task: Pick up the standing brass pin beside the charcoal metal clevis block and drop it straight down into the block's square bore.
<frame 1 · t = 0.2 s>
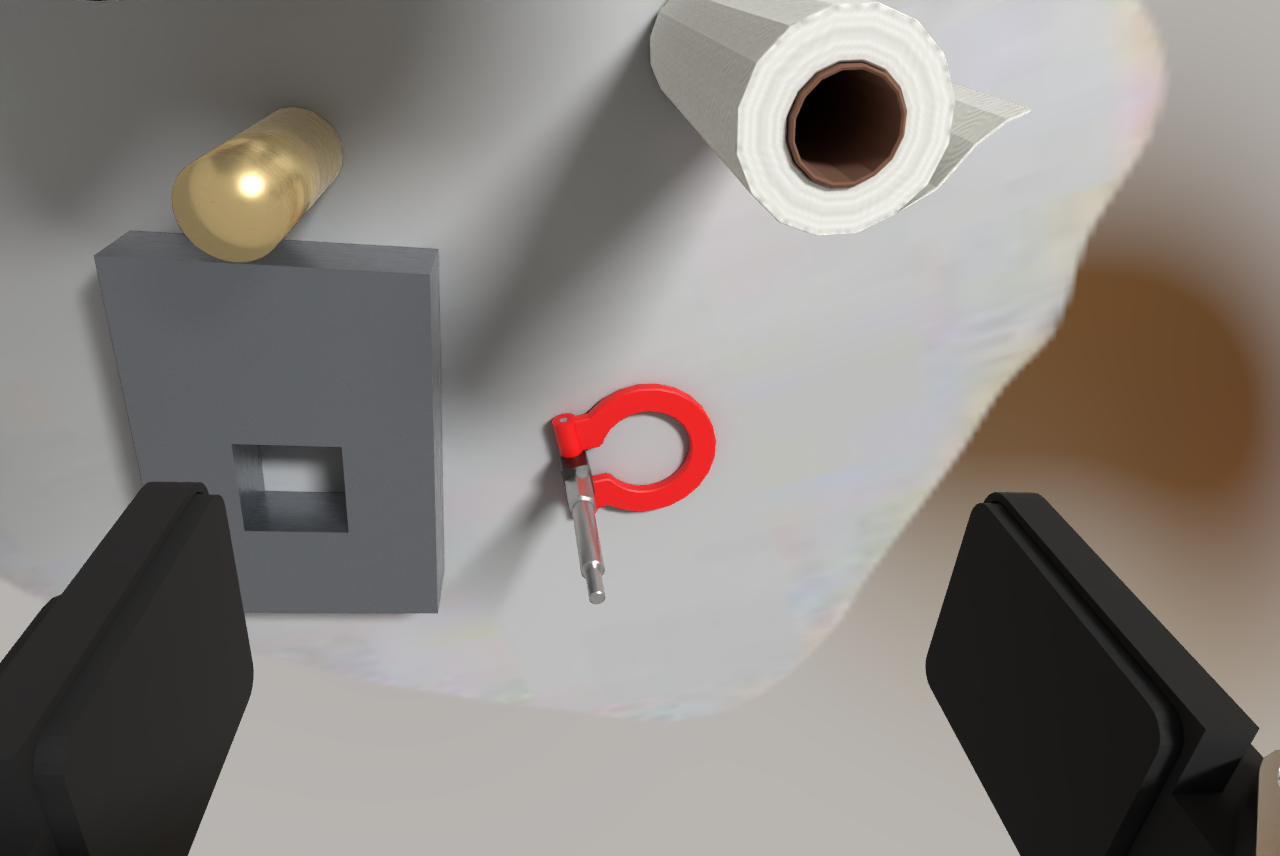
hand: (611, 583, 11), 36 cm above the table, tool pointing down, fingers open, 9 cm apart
brass pin: (300, 150, 42), on the table
paper towel roll: (719, 53, 42), on the table
clevis block: (306, 421, 49), on the table
tow hook: (636, 444, 52), on the table
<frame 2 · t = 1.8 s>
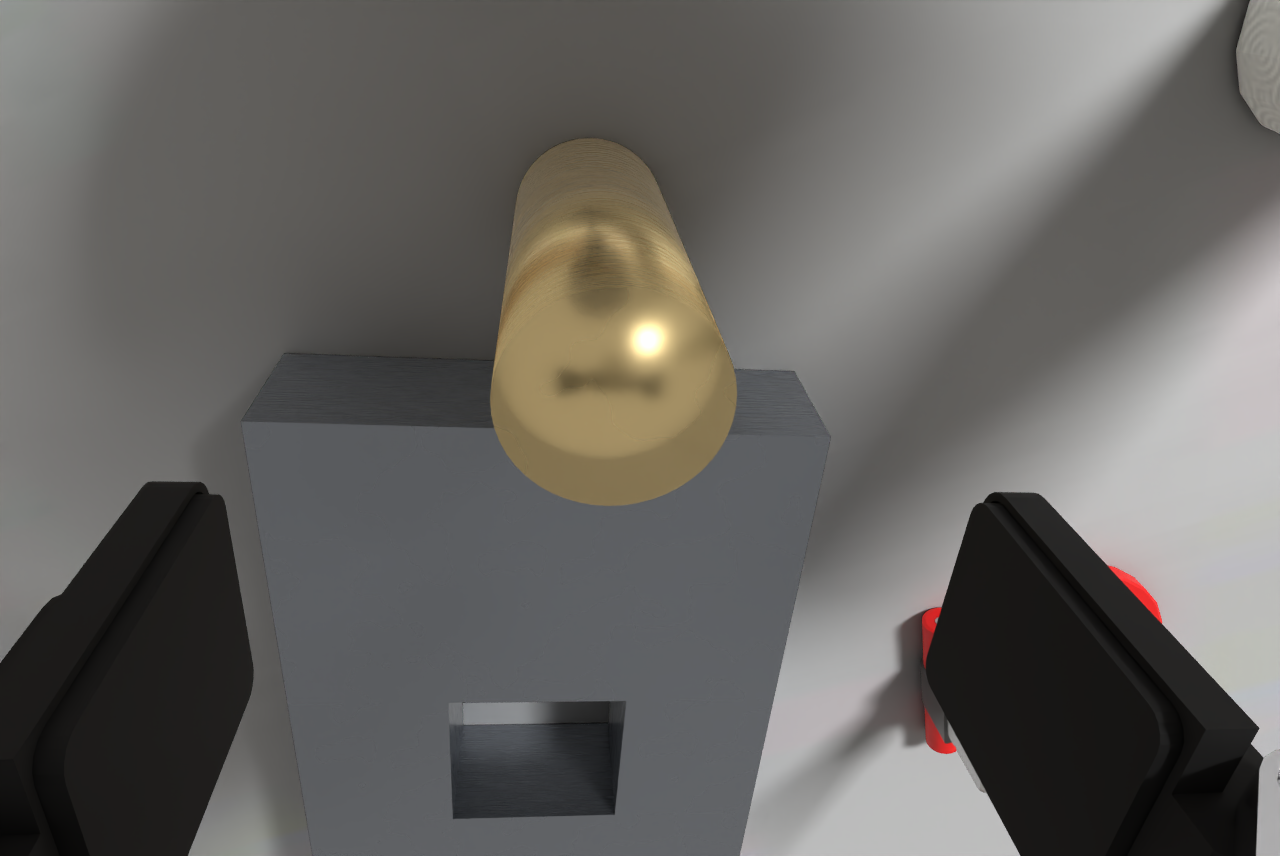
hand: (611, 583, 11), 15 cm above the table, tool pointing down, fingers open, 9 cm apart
brass pin: (589, 213, 24), on the table
clevis block: (539, 630, 31), on the table
tow hook: (1029, 643, 34), on the table
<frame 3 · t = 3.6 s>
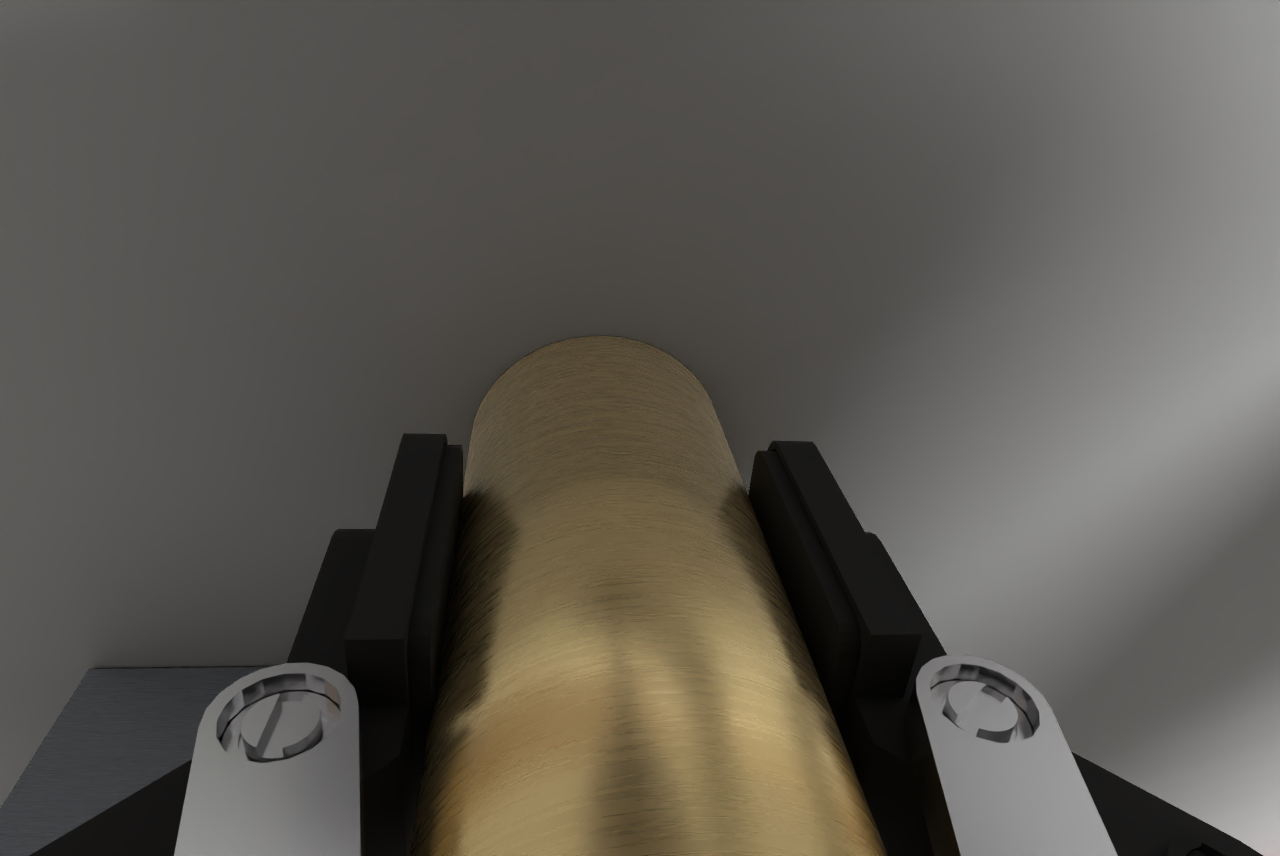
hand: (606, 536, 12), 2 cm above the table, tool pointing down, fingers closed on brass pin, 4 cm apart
brass pin: (596, 451, 14), on the table, touching gripper
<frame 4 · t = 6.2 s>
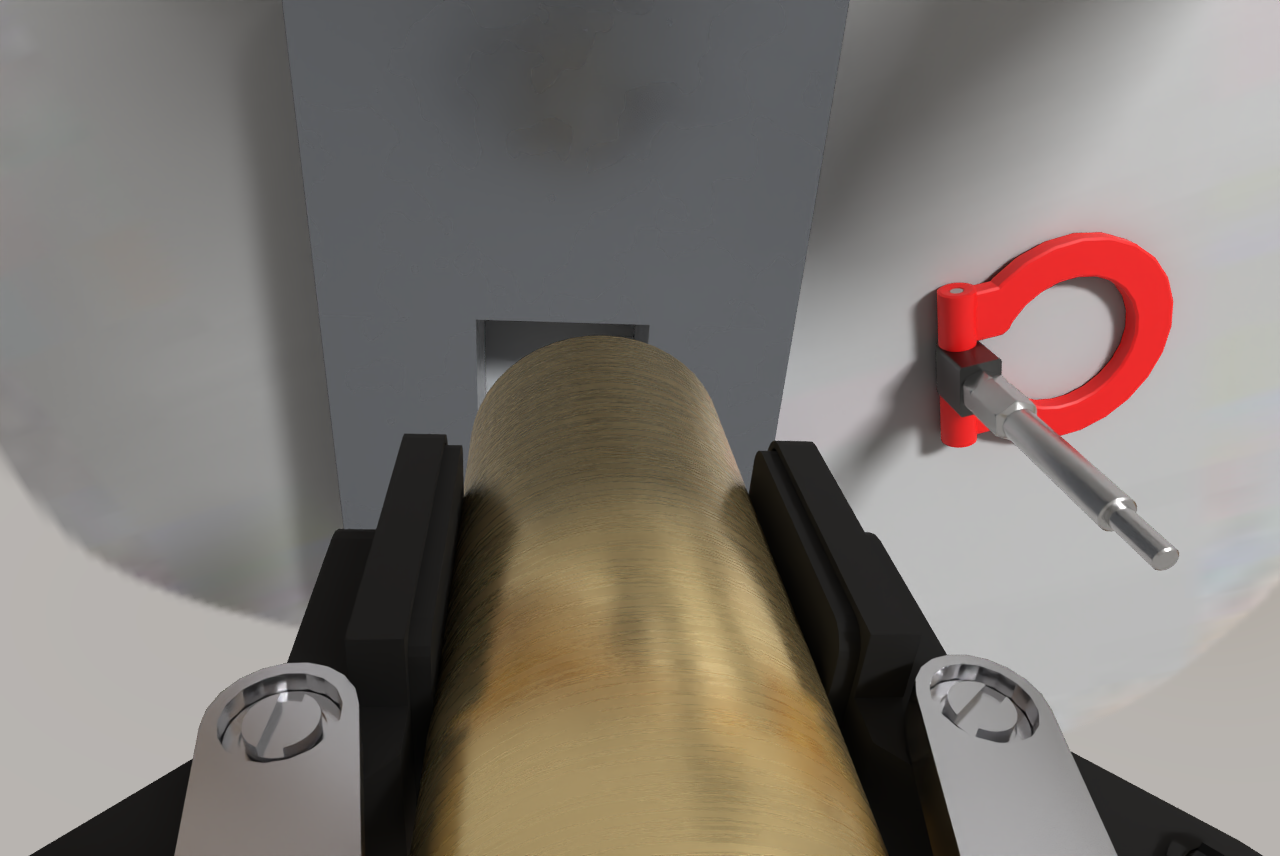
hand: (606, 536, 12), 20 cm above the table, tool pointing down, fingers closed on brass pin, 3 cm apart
brass pin: (597, 451, 14), point 18 cm above the table, touching gripper
clevis block: (561, 299, 31), on the table
tow hook: (1042, 334, 34), on the table
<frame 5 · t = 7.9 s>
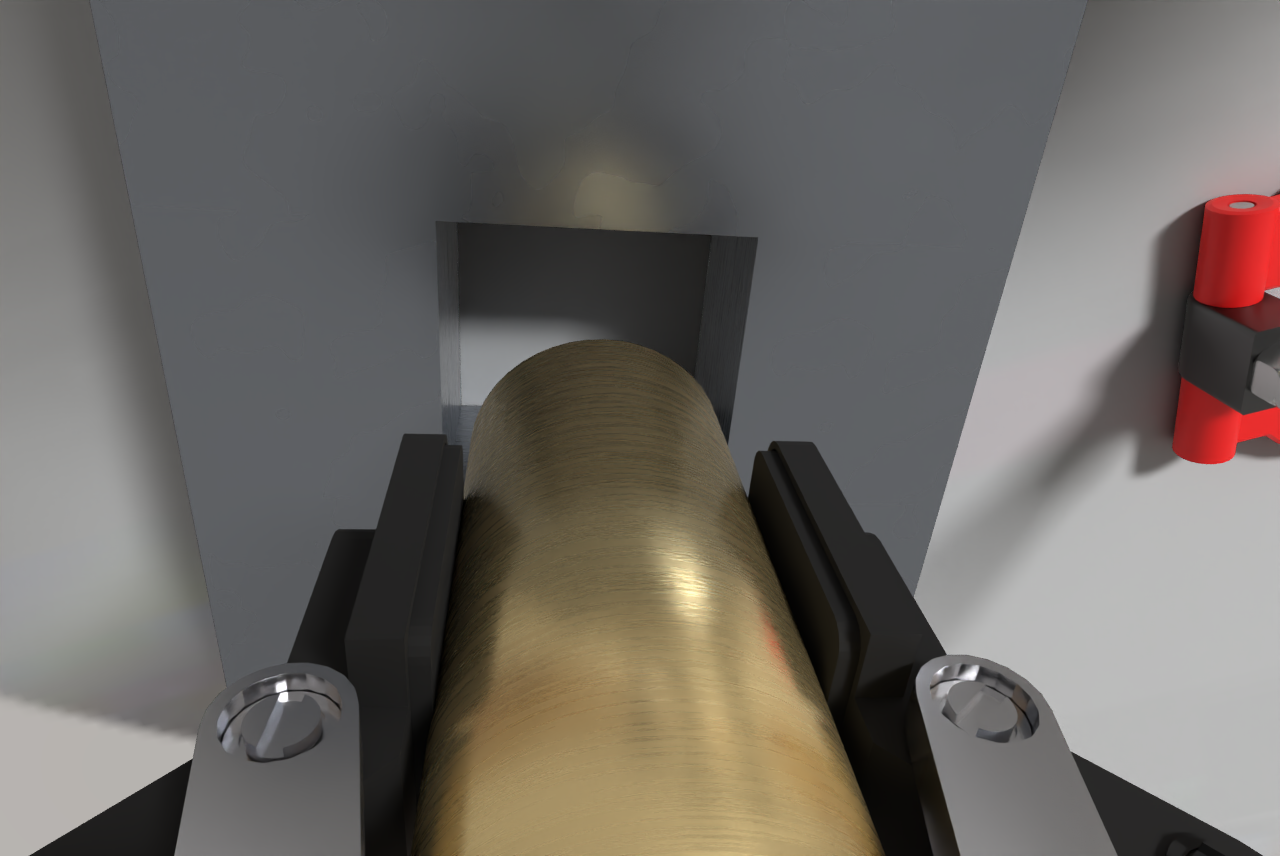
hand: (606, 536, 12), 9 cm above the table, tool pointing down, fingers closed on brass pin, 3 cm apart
brass pin: (597, 455, 14), point 7 cm above the table, touching gripper
clevis block: (587, 211, 19), on the table
when the fingers open (5 cm above the table, at t = 9.0 s): brass pin drops 3 cm, resting in clevis block.
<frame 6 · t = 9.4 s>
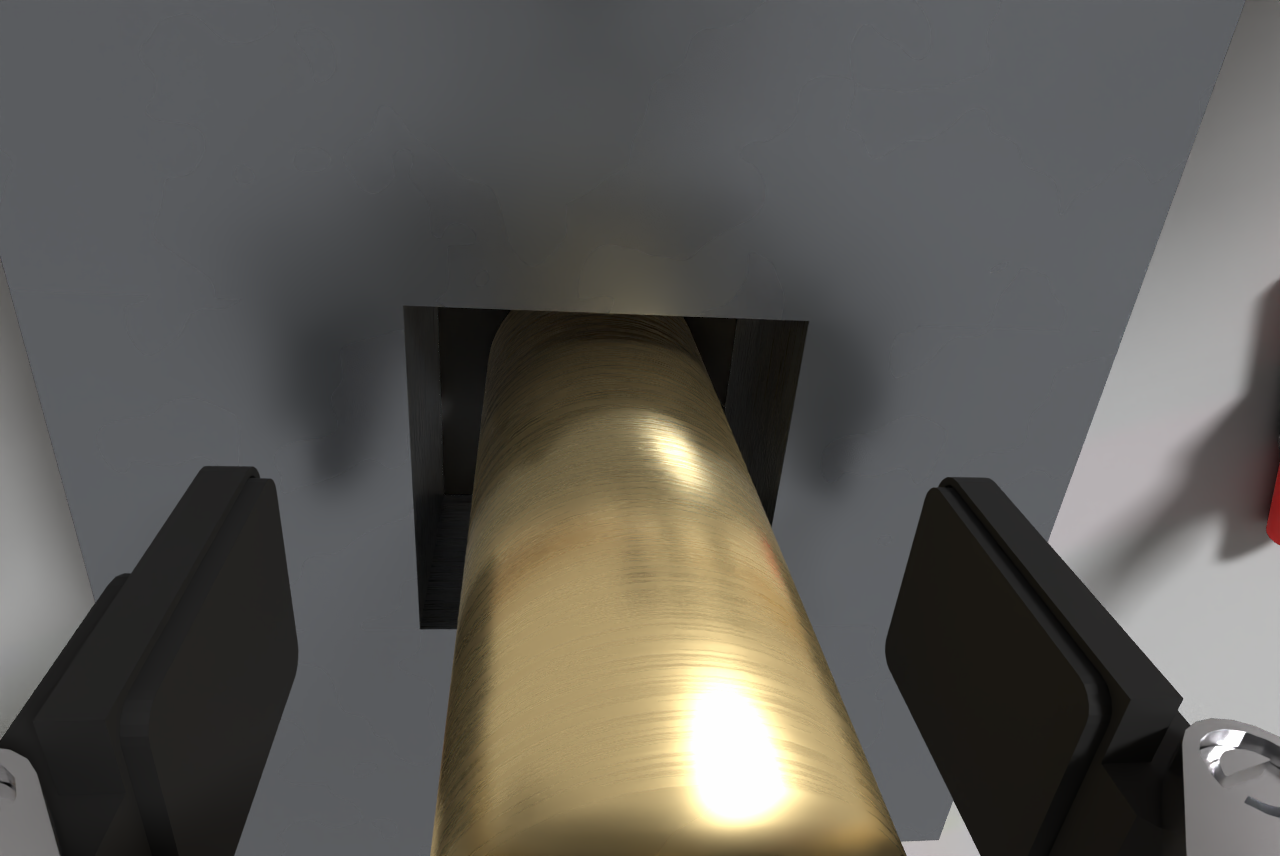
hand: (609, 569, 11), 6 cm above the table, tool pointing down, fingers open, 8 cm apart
brass pin: (594, 373, 16), resting in clevis block
clevis block: (593, 273, 16), on the table
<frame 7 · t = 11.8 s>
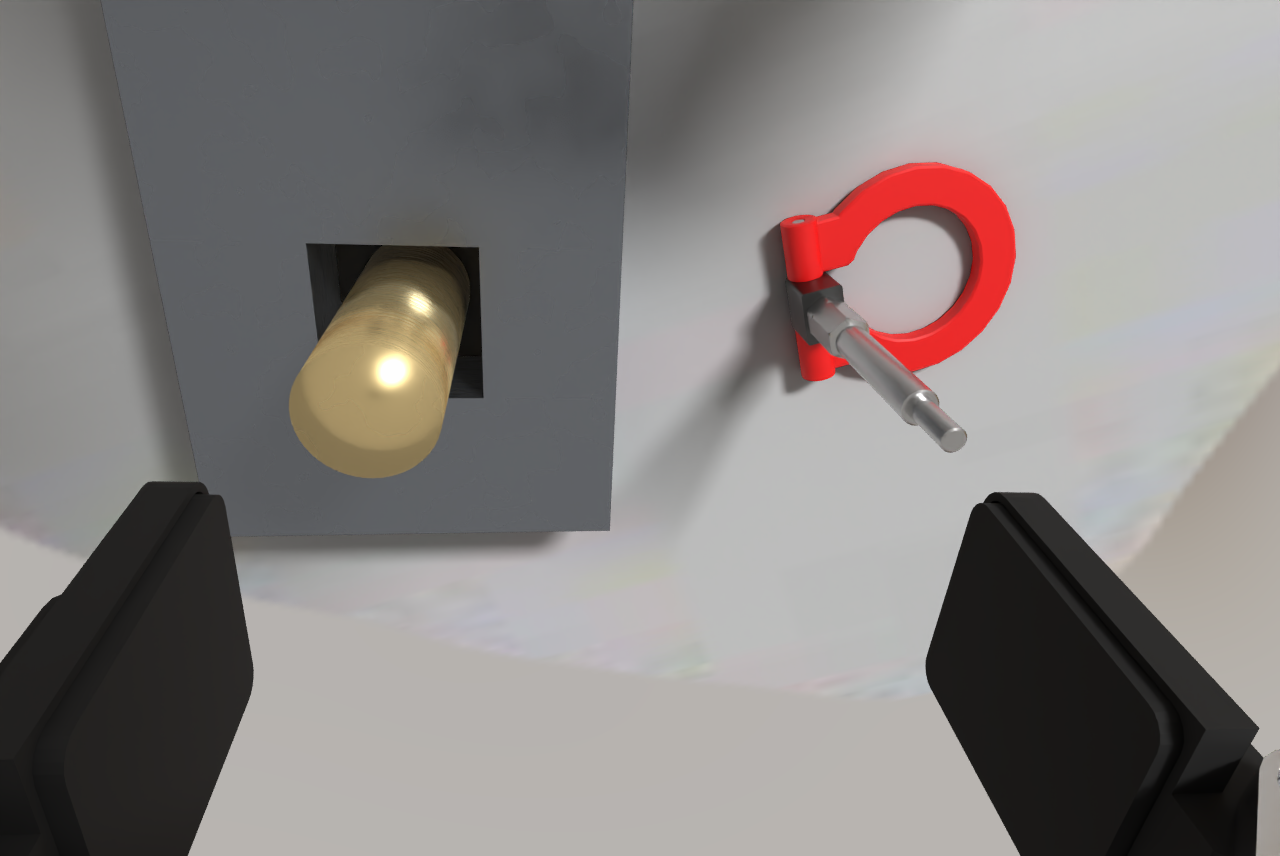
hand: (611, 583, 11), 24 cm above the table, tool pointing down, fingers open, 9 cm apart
brass pin: (417, 288, 33), resting in clevis block
clevis block: (410, 236, 32), on the table
tow hook: (893, 268, 35), on the table
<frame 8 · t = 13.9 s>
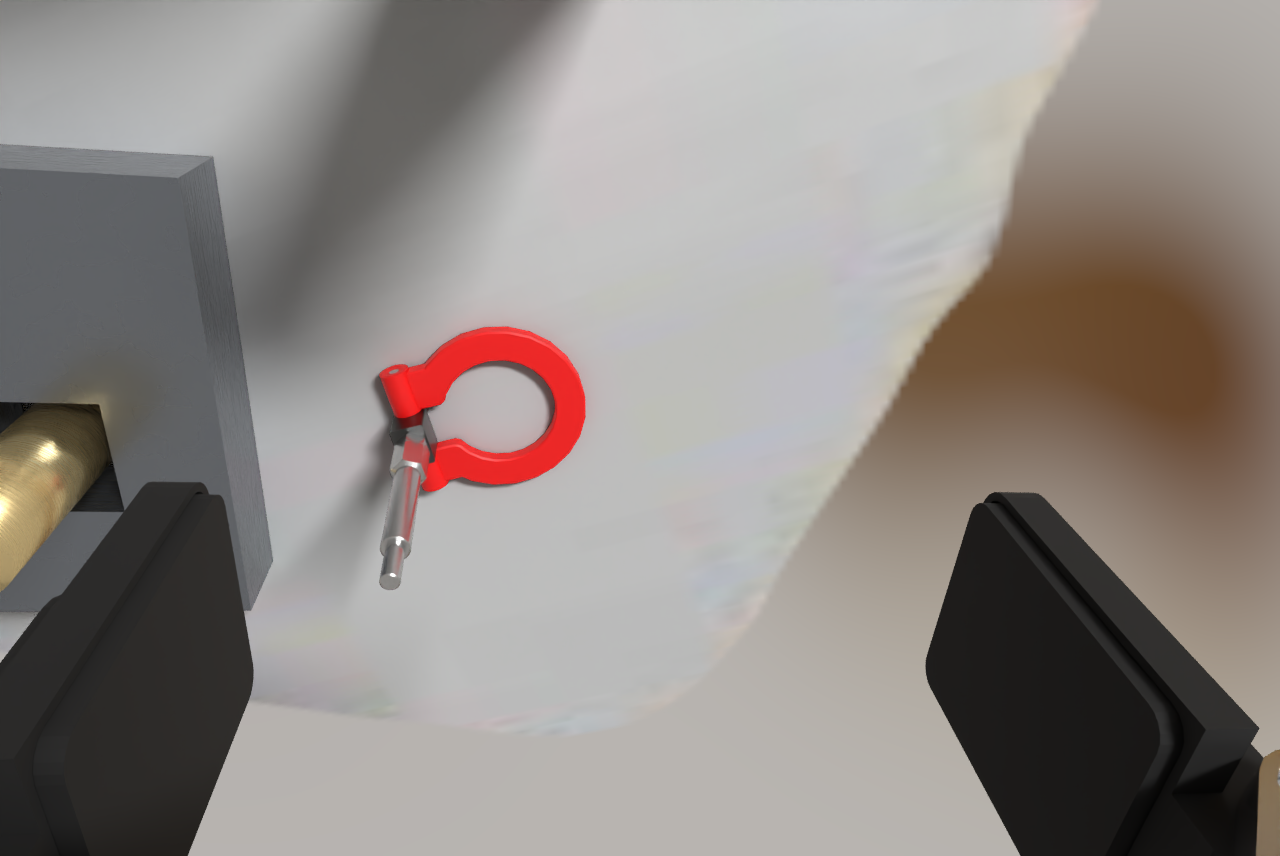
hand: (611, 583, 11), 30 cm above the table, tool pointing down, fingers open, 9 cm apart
brass pin: (89, 416, 41), resting in clevis block
clevis block: (77, 378, 40), on the table
tow hook: (492, 403, 43), on the table
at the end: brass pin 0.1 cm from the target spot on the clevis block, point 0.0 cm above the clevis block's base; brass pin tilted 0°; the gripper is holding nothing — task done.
